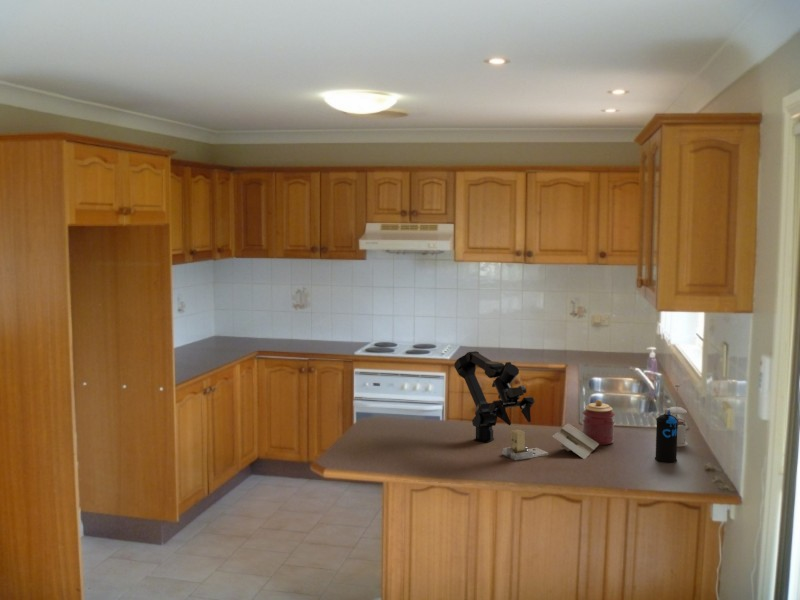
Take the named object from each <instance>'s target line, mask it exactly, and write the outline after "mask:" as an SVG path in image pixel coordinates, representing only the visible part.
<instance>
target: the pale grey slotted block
mask: <svg viewBox="0 0 800 600" xmlns="http://www.w3.org/2000/svg"><path fill="white" fill-rule="evenodd" d="M552 438H554V439H555V440H557V441H558V442H560V443H561V445H560V447H561V448H563V450H565V451H567V452H570V451H572V452H573V453H574V454H576V455H578V456H579V457H580V458H582V459H583V460H585V459H587V458H588V457H589V455H590V454H591V453H592V452H593V451H594V450H596V449H597V447H598V446H600V445H599V443H597V442H596V441H594V440H593V439H591V438H590V437H588V436H587V435H585V434H584V433H583V431H581V430H579V429H578V428H576V427H575V426H573V425H572V424H570V423H566V424H565V425H564V426H562V427H561V429H560V431H556V432H555V433H554V434H553V435H552Z"/></svg>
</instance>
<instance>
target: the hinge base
mask: <svg viewBox="0 0 800 600" xmlns="http://www.w3.org/2000/svg"><path fill="white" fill-rule="evenodd" d="M502 455H503V456H505V457H506V458H508V459H511V460H514V461H523V460H527V459H533V458H538V457H544V456H549V455H550V454H549V452H547V451H545V450H543V449H541V448H539V447H533V448H529V447H528V446H526V445H525V452H522V453H514V452H513V449H511V446H508V447H503V448H502Z"/></svg>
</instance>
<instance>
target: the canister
mask: <svg viewBox="0 0 800 600" xmlns="http://www.w3.org/2000/svg"><path fill="white" fill-rule="evenodd" d="M584 409H585V410H584V411H582V414H583V419H582V433H584V434H585V435H587V436H588V437H590V438H591V439H593V440H594V441H596V442H597V443H599V445H598V446H602V445H603V446H605V445H611V444H613V443H614V440H615V438H614V437H615V436H614V435H615V434H614V433H615V432H614V431H615V429H614V428H615V426H614V425H615V421H614V417H615V413H614V412H613V410H614V409H613V407H611V405H609V404H607V403H603V401H602V400H601V399H596V400H595V402H591V403H588V404H587V405H584Z"/></svg>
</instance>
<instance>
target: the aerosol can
mask: <svg viewBox="0 0 800 600" xmlns="http://www.w3.org/2000/svg"><path fill="white" fill-rule="evenodd" d="M677 418H678V417H677ZM677 418H676V416H675V415H674V414H673V415H672V413H671V414H670V409H668V408H665V409H664V413H663V414H661V415H659V416H657V417H656V418H655V420H656V432H655V433H656V436H655V456H654V460H655V461H657V462H660V463H665V464H670V463H671V464H673V463H676V462H677V461H678V459H677V454H678V446H677V429H678V426H679V425H678V420H677Z"/></svg>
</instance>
